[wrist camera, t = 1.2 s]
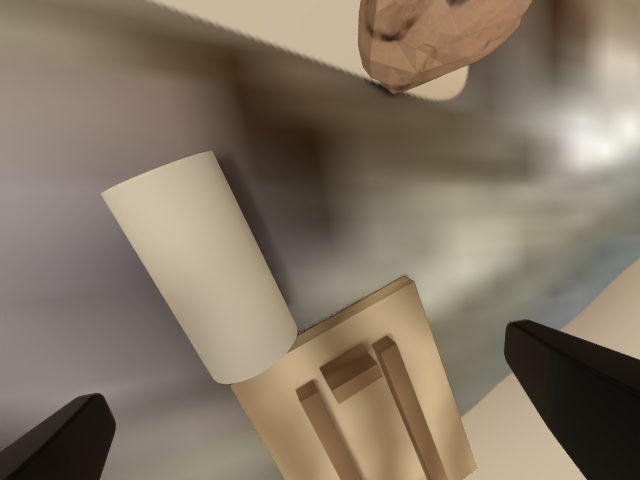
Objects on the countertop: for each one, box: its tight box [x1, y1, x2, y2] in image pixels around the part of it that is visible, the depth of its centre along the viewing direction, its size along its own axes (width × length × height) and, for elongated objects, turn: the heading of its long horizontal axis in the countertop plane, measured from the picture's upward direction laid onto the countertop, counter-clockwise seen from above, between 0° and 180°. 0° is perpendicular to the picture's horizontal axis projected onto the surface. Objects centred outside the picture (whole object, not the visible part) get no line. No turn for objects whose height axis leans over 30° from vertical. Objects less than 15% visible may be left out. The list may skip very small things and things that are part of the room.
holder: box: [230, 277, 477, 480], centre depth 22 cm, size 13×18×4 cm
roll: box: [101, 151, 298, 384], centre depth 16 cm, size 10×5×5 cm, turn 23°
